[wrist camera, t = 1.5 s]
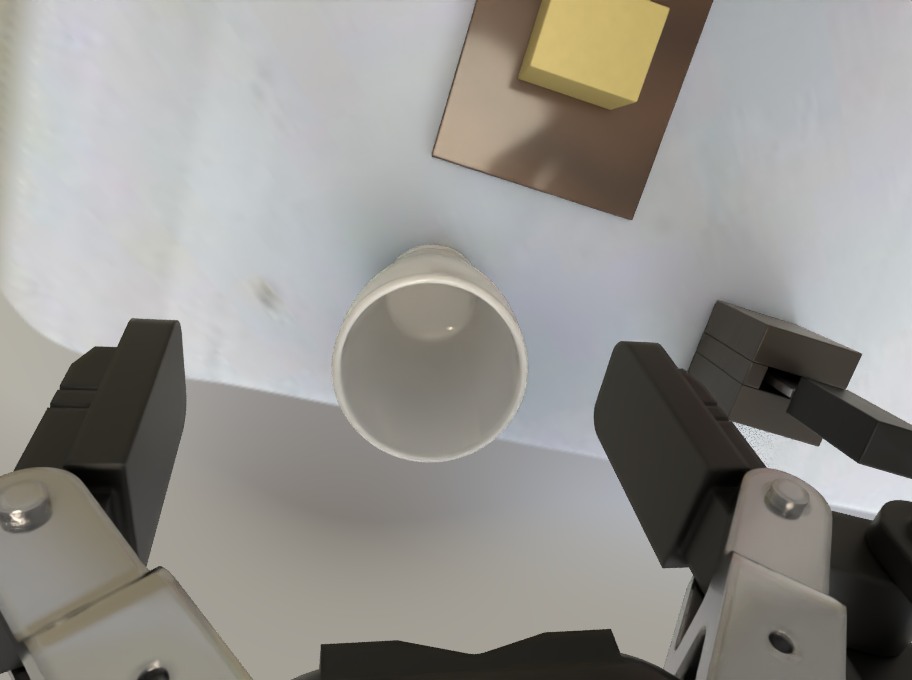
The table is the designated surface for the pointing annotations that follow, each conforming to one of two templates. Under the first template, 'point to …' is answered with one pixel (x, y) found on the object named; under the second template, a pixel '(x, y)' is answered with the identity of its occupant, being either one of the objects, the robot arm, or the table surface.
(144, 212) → the table surface
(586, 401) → the table surface
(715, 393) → the knife block
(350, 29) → the table surface
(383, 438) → the white tall tumbler
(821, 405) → the knife
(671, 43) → the butter board
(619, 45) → the butter slice
